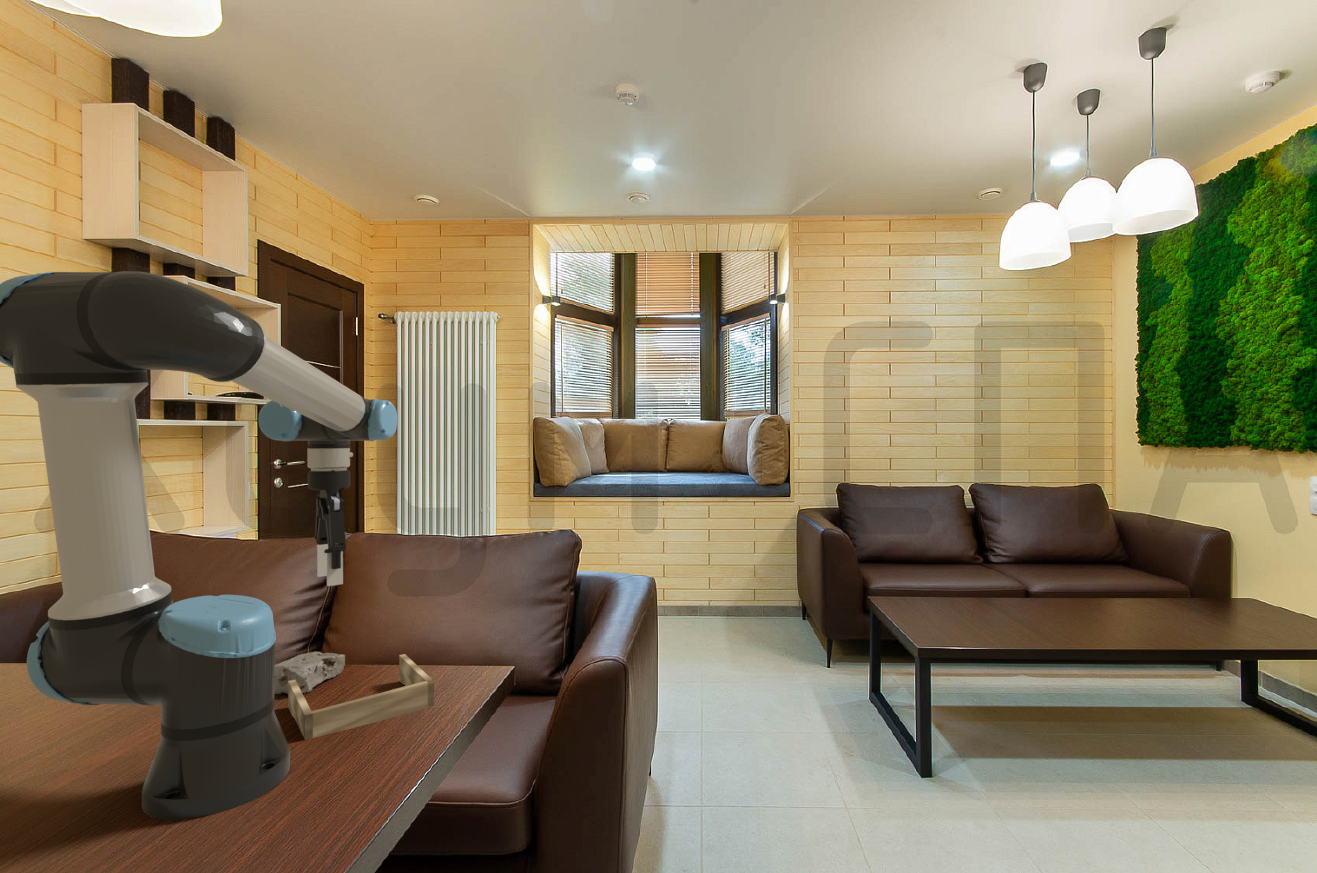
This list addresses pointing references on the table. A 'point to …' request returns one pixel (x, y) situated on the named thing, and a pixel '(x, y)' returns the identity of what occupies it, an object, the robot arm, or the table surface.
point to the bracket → (364, 704)
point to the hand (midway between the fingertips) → (329, 580)
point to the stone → (307, 670)
